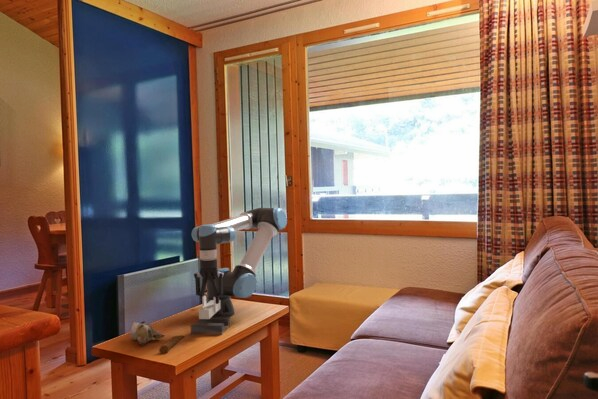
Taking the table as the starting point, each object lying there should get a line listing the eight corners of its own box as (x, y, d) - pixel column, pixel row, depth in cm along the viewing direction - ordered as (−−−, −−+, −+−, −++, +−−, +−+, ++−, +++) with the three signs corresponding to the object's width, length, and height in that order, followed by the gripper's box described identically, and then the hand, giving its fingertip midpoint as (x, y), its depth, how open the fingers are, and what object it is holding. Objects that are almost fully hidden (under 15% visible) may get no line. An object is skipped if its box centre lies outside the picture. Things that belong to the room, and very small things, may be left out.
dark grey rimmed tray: (201, 325, 191) (200, 316, 191) (230, 325, 189) (229, 317, 189) (191, 334, 179) (190, 325, 179) (221, 334, 177) (221, 325, 177)
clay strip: (211, 308, 192) (211, 300, 192) (220, 308, 192) (220, 300, 192) (199, 319, 176) (198, 309, 176) (209, 319, 176) (208, 309, 176)
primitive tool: (173, 337, 177) (172, 329, 177) (185, 337, 178) (185, 329, 177) (158, 355, 158) (158, 346, 158) (173, 354, 158) (172, 345, 158)
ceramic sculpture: (144, 314, 181) (165, 321, 173) (144, 333, 182) (166, 342, 173) (122, 321, 173) (143, 329, 164) (122, 341, 173) (143, 350, 164)
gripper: (186, 260, 181) (188, 313, 182) (224, 260, 179) (226, 313, 179) (193, 257, 189) (194, 308, 189) (229, 257, 186) (231, 308, 187)
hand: (210, 310), depth 184 cm, fingers closed on clay strip, 4 cm apart
